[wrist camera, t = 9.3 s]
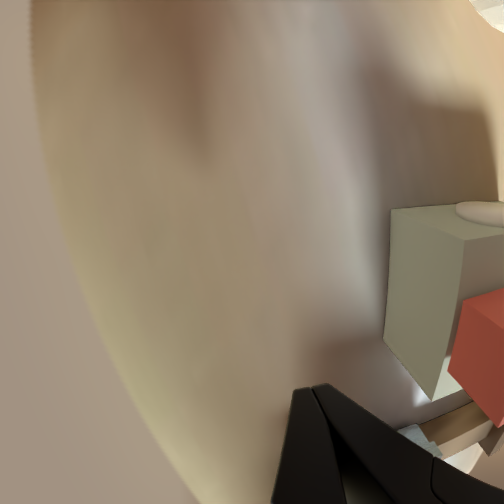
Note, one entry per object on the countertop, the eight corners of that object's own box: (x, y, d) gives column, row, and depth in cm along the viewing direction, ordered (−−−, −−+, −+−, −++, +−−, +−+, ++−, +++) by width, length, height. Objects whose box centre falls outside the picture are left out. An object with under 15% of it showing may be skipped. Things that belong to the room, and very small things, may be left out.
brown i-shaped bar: (498, 379, 16) (524, 405, 13) (478, 423, 18) (499, 449, 15) (289, 449, 15) (301, 497, 12) (290, 488, 17) (300, 528, 14)
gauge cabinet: (484, 310, 14) (537, 350, 10) (382, 340, 14) (431, 402, 9) (499, 195, 12) (567, 215, 8) (390, 201, 12) (465, 229, 7)
